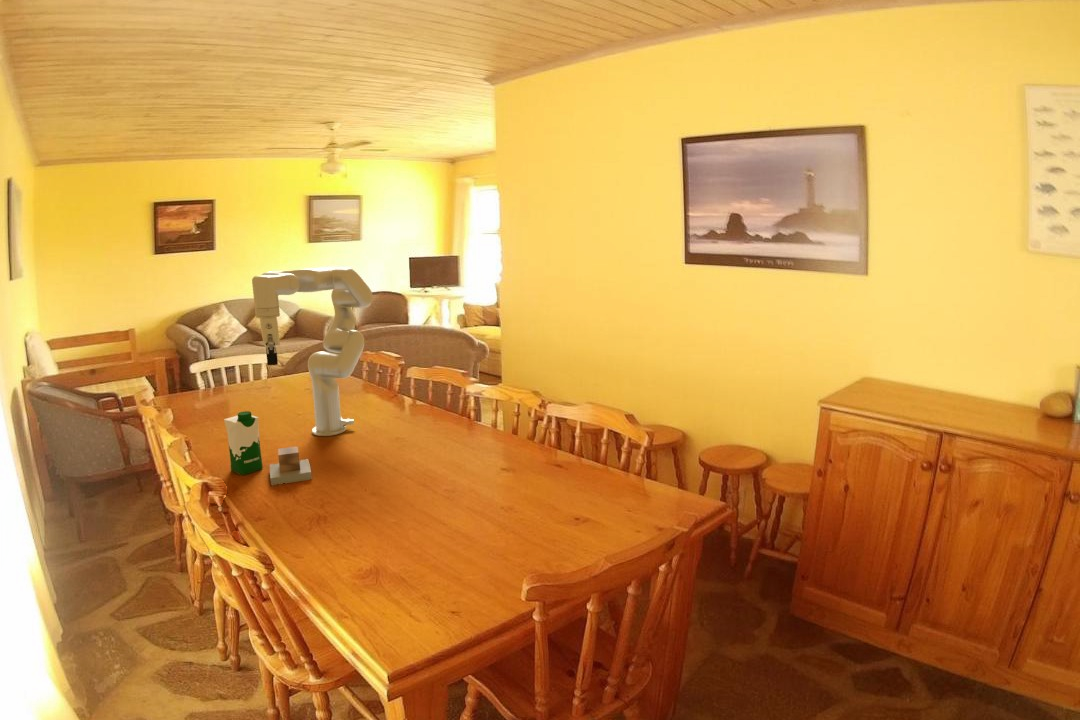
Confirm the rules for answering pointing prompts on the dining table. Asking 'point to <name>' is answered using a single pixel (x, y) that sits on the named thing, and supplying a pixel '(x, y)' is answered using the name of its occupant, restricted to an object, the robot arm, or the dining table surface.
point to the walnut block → (289, 459)
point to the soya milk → (244, 443)
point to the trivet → (290, 473)
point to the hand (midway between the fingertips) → (272, 361)
